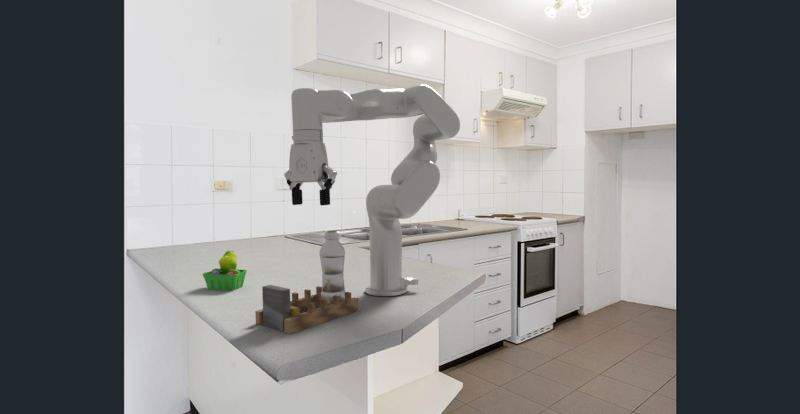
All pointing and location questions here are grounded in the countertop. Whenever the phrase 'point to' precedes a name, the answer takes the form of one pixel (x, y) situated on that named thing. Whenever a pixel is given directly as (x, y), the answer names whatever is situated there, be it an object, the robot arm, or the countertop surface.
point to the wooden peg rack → (300, 309)
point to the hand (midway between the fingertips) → (311, 204)
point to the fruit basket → (225, 274)
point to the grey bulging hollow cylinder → (332, 267)
